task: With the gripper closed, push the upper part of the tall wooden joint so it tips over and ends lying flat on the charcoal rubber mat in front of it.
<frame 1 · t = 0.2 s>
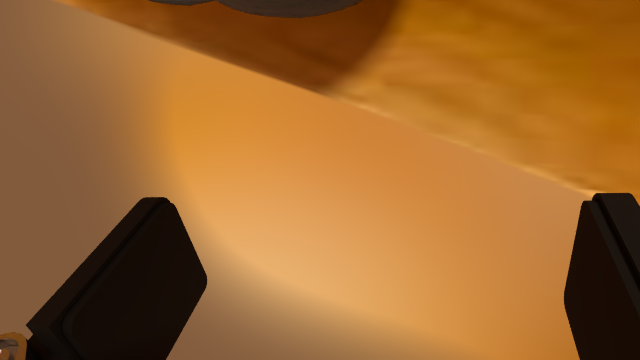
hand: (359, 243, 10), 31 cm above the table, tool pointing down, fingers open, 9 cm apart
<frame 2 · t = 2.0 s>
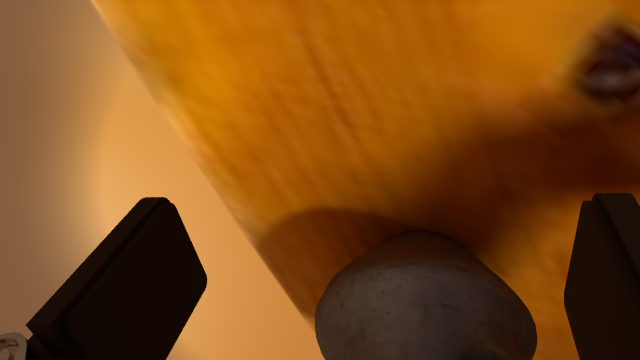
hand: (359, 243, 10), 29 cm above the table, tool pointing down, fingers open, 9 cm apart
pitcher: (427, 258, 49), on the table
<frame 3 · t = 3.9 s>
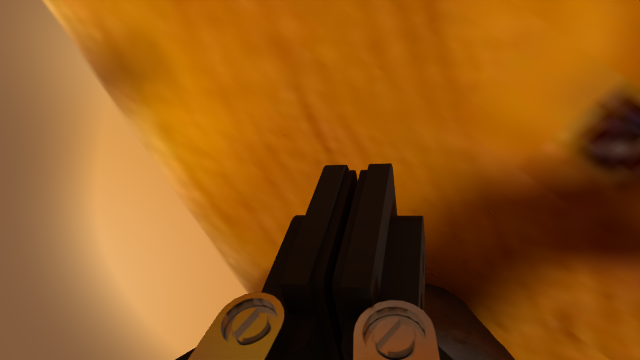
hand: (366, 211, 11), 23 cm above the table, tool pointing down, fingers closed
pitcher: (425, 310, 47), on the table
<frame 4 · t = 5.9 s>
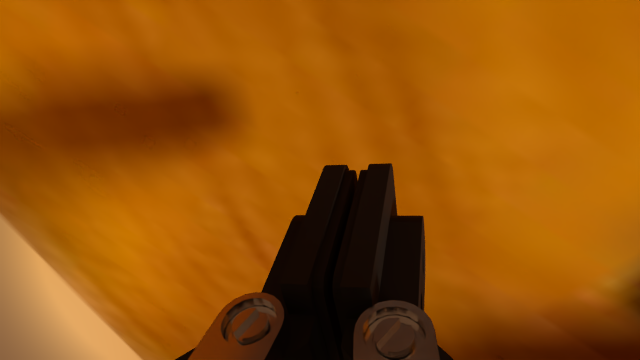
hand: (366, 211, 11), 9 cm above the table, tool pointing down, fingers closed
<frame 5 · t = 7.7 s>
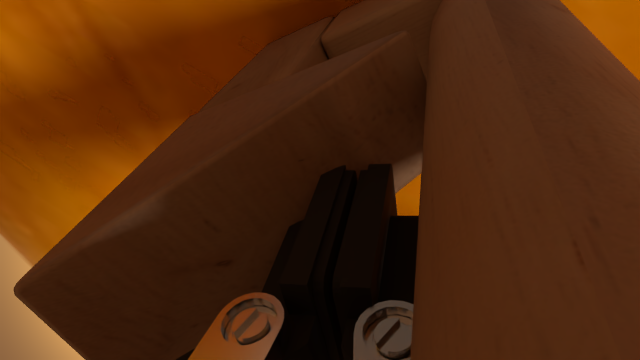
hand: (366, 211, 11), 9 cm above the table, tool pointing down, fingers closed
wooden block: (394, 34, 18), on the table, touching gripper
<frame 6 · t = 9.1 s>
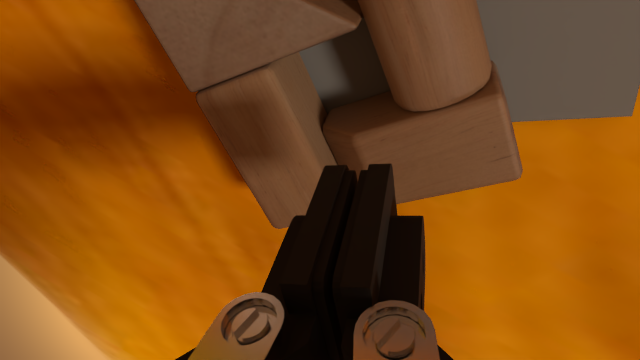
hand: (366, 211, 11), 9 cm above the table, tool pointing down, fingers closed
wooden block: (389, 189, 19), point 2 cm above the table, touching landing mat
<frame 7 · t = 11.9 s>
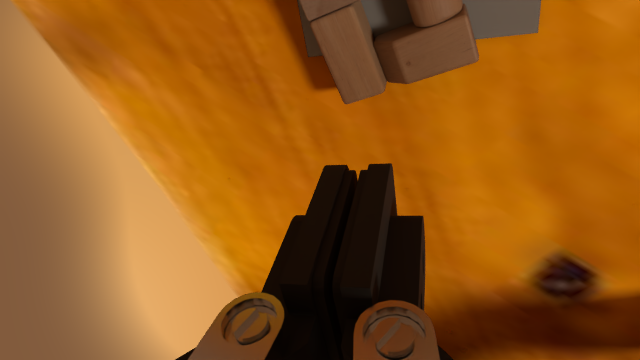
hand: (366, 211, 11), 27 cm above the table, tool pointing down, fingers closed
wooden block: (409, 79, 34), point 2 cm above the table, touching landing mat
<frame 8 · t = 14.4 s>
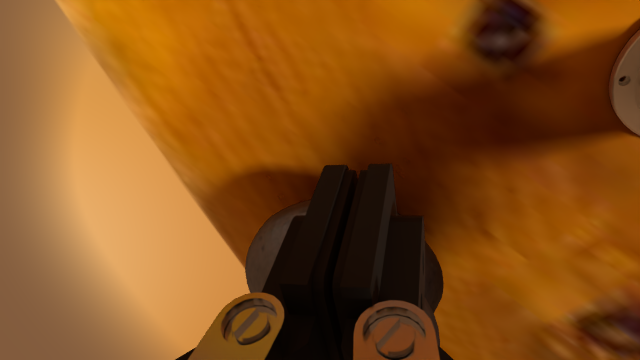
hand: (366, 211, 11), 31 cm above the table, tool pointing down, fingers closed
pitcher: (359, 217, 52), on the table
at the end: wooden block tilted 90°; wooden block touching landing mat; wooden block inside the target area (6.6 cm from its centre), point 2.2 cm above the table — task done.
